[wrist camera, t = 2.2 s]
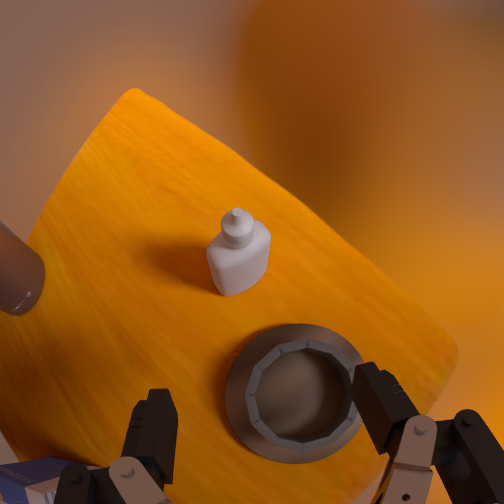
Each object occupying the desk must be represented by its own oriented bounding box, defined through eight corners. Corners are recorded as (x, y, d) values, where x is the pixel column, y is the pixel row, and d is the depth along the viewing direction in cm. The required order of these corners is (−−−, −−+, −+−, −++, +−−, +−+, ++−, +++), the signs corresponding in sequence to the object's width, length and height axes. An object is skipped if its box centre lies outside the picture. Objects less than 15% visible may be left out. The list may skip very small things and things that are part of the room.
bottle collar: (195, 389, 26) (188, 389, 23) (301, 298, 30) (307, 287, 27) (293, 486, 21) (299, 498, 18) (391, 389, 26) (407, 388, 22)
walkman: (54, 477, 19) (-14, 494, 9) (50, 456, 21) (-21, 467, 10) (111, 490, 20) (49, 524, 9) (106, 468, 21) (40, 494, 10)
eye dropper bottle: (212, 259, 32) (195, 190, 21) (264, 254, 32) (272, 183, 21) (214, 298, 30) (196, 243, 19) (269, 293, 30) (282, 235, 19)
